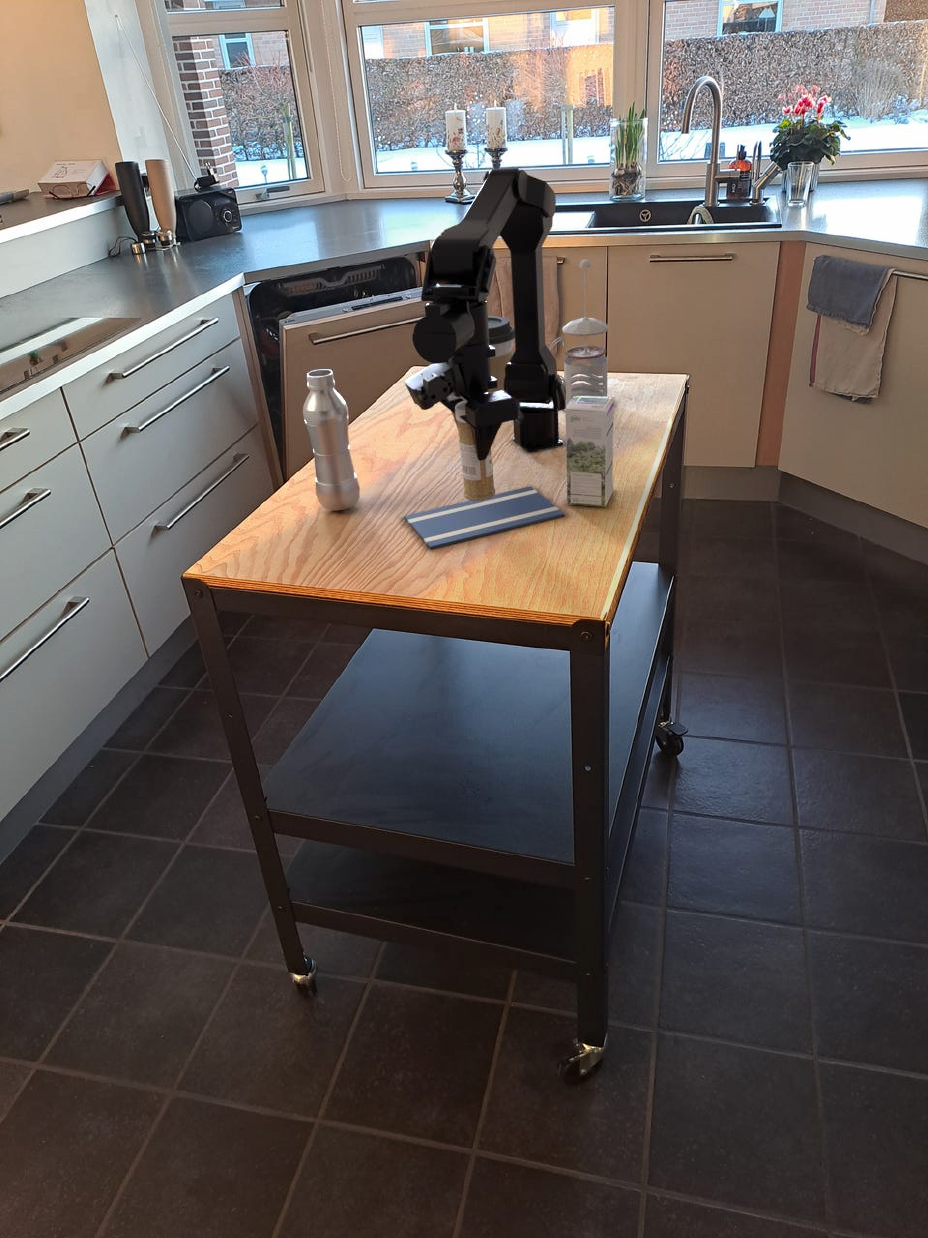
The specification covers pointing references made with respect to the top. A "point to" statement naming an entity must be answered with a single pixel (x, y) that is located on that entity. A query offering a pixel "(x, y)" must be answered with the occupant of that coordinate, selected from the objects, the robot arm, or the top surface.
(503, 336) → the coffee cup
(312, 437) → the silver water bottle
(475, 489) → the sprinkles bottle
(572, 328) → the french press
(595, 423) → the syrup box
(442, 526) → the tea towel
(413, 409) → the top surface
